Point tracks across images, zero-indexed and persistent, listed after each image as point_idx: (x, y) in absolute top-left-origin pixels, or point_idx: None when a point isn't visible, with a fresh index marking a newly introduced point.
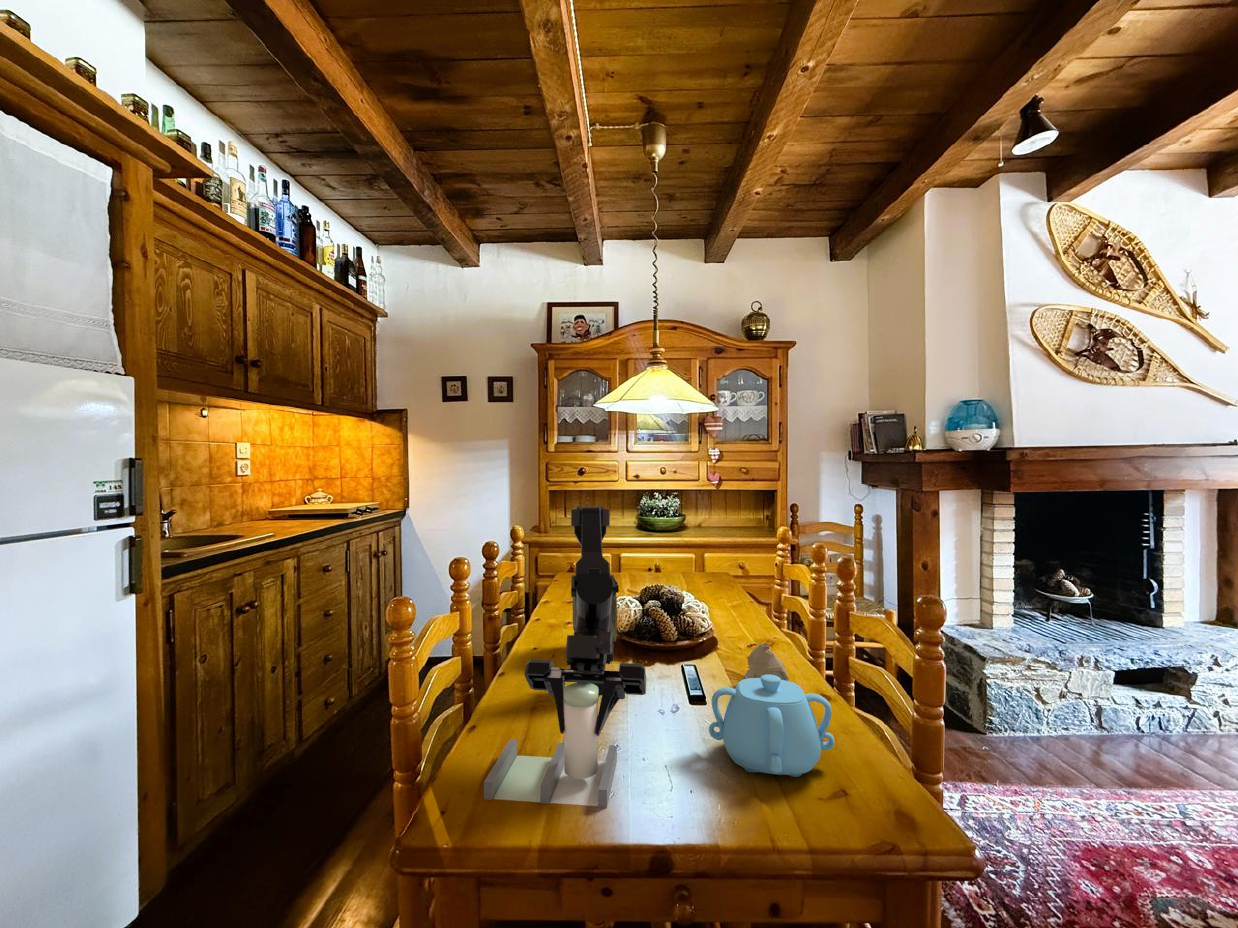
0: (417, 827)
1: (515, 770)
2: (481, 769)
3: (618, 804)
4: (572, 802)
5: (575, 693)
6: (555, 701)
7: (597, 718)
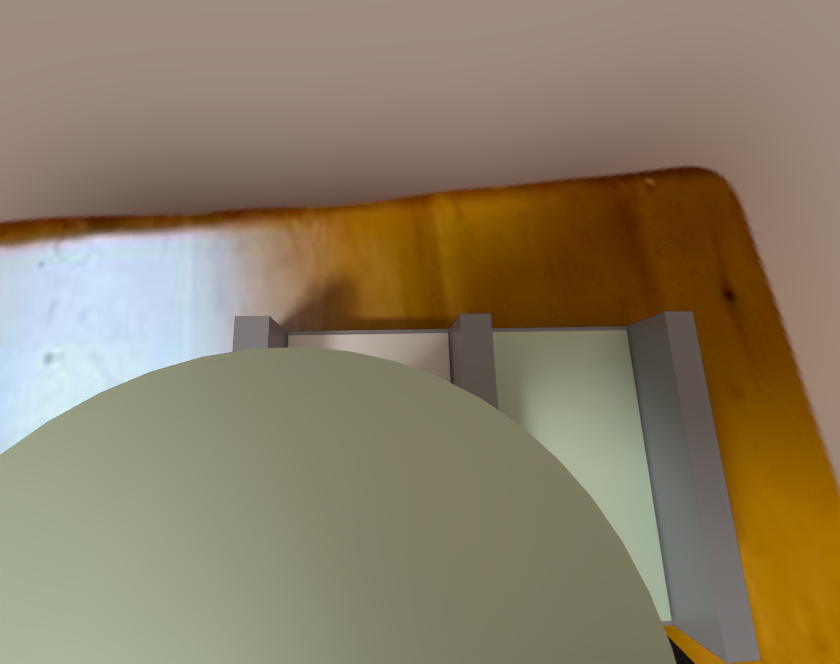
0: (751, 232)
1: (629, 503)
2: (749, 530)
3: None
4: (375, 343)
5: (366, 508)
6: (672, 642)
7: None
